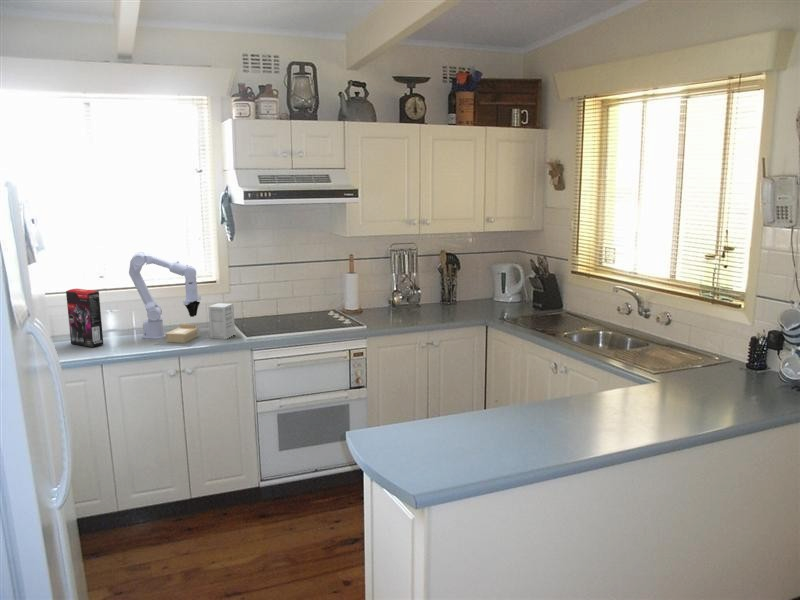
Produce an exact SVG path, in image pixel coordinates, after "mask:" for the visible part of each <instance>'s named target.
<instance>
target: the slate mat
mask: <svg viewBox="0 0 800 600" xmlns="http://www.w3.org/2000/svg"><path fill="white" fill-rule="evenodd" d="M209 337H210V335H209V334H208V335H206V334H205V335H204V334H198V337H196V338H194V339H192V340H190V341H188V342H186V343H167V338H165V339H163V340H160V341H158V342H157V343H154V344H153V345H154V346H170V347H172V346H173V347H174V346H175V347H191V346H193V345H195V344H197V343H199V342H200V341H203V340H205V339H207V338H209Z"/></svg>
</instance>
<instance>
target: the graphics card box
mask: <svg viewBox="0 0 800 600" xmlns="http://www.w3.org/2000/svg"><path fill="white" fill-rule="evenodd" d="M65 293H66V294H65V295H66V304H67V305H66V306H67V314H68V315H67V316H68V326H69V337H70V344H71V345H77V346H85V347H91V348H94V347H100V346H103V345H104V335H103V325H102V313H101V312H102V311H101V302H100V301H101V300H100V292H99V290H91V289H86V288H85V289H83V288H72V289H71V288H70V289H68V290H66V291H65Z"/></svg>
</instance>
